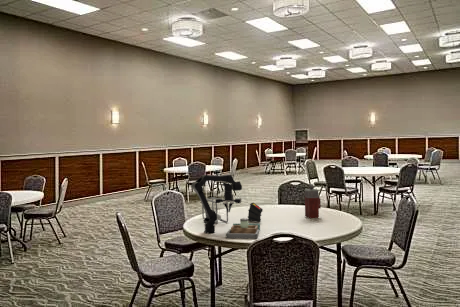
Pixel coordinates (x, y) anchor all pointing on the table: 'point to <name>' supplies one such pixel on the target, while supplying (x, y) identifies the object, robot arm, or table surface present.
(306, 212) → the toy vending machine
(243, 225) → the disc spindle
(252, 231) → the tray
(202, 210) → the newton's cradle
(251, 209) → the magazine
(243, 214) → the table surface
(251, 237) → the grey shallow box
